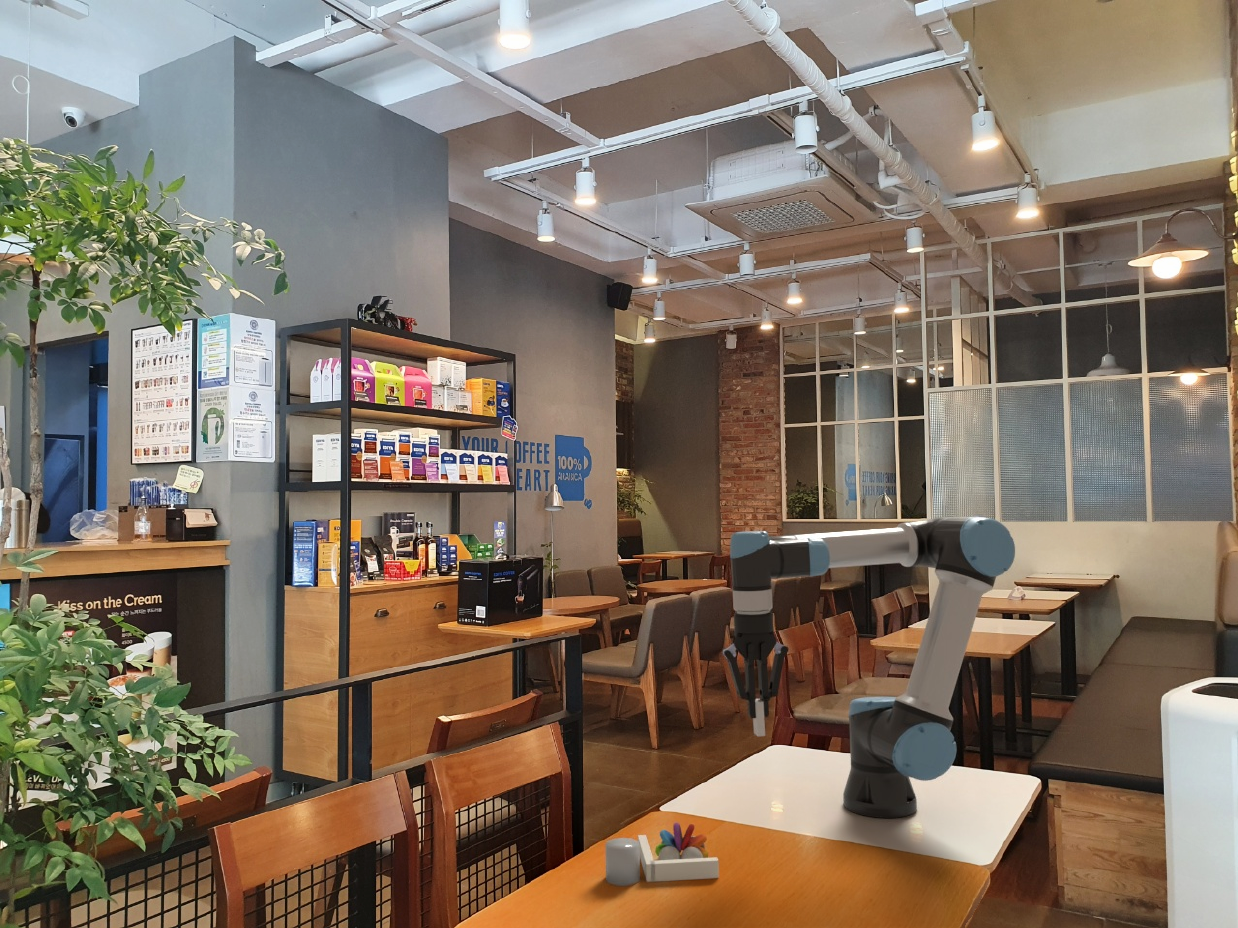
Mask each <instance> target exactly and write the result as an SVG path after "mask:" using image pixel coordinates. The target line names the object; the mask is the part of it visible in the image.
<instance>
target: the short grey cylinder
mask: <svg viewBox="0 0 1238 928" xmlns="http://www.w3.org/2000/svg"><path fill="white" fill-rule="evenodd" d="M604 847H605V850H604V851H605V881H606V882H607V883H608V884H610V885H611V886H612V885H613V886H619V887H627V886H633V885H635V884H637V883H639V882H640V879H641V868H640V867H641V864H640V863H641V859H640V854H639V842H638V840H637V839H634V838H629V837H618V838H613V839H610V840H607V841H606V842H605V845H604Z"/></svg>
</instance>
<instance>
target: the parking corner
mask: <svg viewBox="0 0 1238 928" xmlns="http://www.w3.org/2000/svg"><path fill="white" fill-rule="evenodd" d="M637 841H638V842H639V854H640V863H641V866H642V870H643V873H644V877H645V880H646V882H647V883H650V882H651V883H653V882H667V881H668V882H669V881H687V880H689V881H691V880H705V879H707V880H708V879H709V880H710V879H720V871H719V870H720V868H719V867H720V864H719V863H720V862H719V859H718V857H717V856H715V857H708V858H694V859H675V860H659V859H658V860H654V856H653V854H652V851H651V847H650V844H649V841H648V838H647V835H646V834H639V835H637Z"/></svg>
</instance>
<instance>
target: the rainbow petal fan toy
mask: <svg viewBox="0 0 1238 928" xmlns="http://www.w3.org/2000/svg"><path fill="white" fill-rule="evenodd" d="M694 830H695V825H694V824H693V823H690V824H689V825H687V829H686V830H685V833H684V835H683V833H682V832H683V831H682V828H681V825H680V823H679V822H674V823H673V830H672V831H673V834H672V833H671V832H670V831H668V830H667V829H662V830H661V831H660V832H659V836H660V839H661V843H659V844H657V845H656V847H655V854H656V856H658V860H675V859H694V858H709V852H708V850H707V849H706V846H705V843H706V842H707V840H708V839H707V836H706V835H705V834H698V835H693V833H694ZM692 835H693V836H692Z"/></svg>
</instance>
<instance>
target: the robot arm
mask: <svg viewBox="0 0 1238 928" xmlns="http://www.w3.org/2000/svg"><path fill="white" fill-rule="evenodd" d="M1010 532H1011V531H1009V529H1008V528H1007V527H1006V526H1005V524H1003V523H1002V522H1000V521H998V520H997V519H994V518H990V517H989V518H988V517H983V516H981V515H975V516H952V515H951V516H950V515H949V516H941V517H934V518H929V519H925V520H919V521H918V520H917V521H911V522H901V523H899V524H898V525H897V526H896V527H893V528H892V527H891V528H879V529H878V528H877V529H876V528H875V529H863V530H860V529H859V530H847V531H846V530H845V531H835V532H822V533H821V532H819V533H805V534H792V535H789V534H788V535H777V536H776V535H773V536H772V535H769V533H768V531H765V530H752V531H750V530H747V531H737V532H736V531H735V532H734V533H733V534H731V537H730V544H729V547H730V549H729V550H730V551H729V558H730V566H731V567H730V568H731V570H730V571H731V581H732V583H731V584H732V586H731V587H732V603H733V605H732V606H733V608H732V609H733V610H734V611H735V613H734V614H733V624H734V625H733V628H734V635H733V638H732V644H730V646H728V647H727V648H722V650H721V654H722V656H724V658H725V659H726V660H727V663H728V666H729V667H728V668H729V671H730V673H731V677H732V682H733V684H734V687H735V693H736V695H737V696H738V697H739V698H741V700H745V701H746V703H747V705H746V706H747V715H748V717H749V718H750V719H752V723H753V725H752V726H753V734H754V735H755V736H757V737H765V736H766V725H765V722H766V721H765V718H769V715H770V708H769V701H770V700H771V698H775V697H777V696H778V694H779V688H780V683H781V678H782V673H783V672H782V671H783V666H784V660H785V657H786V656H787V654H788V652H789V647H788V646H786V645H785V644H782V643H780V642H778V641H777V640H778V639H777V637H776V635H775V632H774V631H775V630H774V614H773V612H772V611H771V610H772V609H773V594H772V593H773V590H772V587H773V586H772V580H776V579H789V578H791V579H793V578H807V577H809V578H812V577H817V576H823V575H825V574H826V573H827V572H828V570H829V569H833V568H836V569H837V568H847V567H862V566H873V565H874V566H875V565H887V564H901V566H903V567H906V568H910V567H923V568H924V567H925V568H930V569H934V573H935V575H936V578H937V579H938V586H937V589H936V592H935V596H934V598H933V601H932V604H931V605H932V606H931V608H930V611H929V614H928V618H927V622H926V625H925V628H924V632H923V634H922V637H921V642H920V644H919V648H918V650H917V654H916V657H915V660H914V663H913V667H912V670H911V674H910V676H909V680H908V682H907V687H906V690H905V692H904V693H903V694H900V695H898V696H897V697H896V696H866V697H860V698H859V697H858V698H855V699H852V700H851V701H850V703H849V709H848V710H849V711H848V718H849V719H848V721H849V722H848V723H849V726H848V727H849V747H850V748H849V750H850V752H849V753H850V755H849V756H850V770H849V774H848V777H847V779H846V784H845V786H844V789H843V796H842V797H843V799H842V800H843V807H844V808H845V809H847V810H848V811H850V812H853V813H854V814H857V815H862V816H865V817H866V816H867V817H873V818H883V819H885V818H886V819H889V818H890V819H893V818H894V819H896V818H903V817H907V816H911V815H913V814H915V813H916V811H917V809H918V807H917V806H918V805H917V800H918V799H917V796H916V794H915V793H916V792H915V791H914V787H913V785H912V781H911V778H912V779H915V780H917V781H923V782H924V781H925V782H927V781H933V780H936V779H937V778H939V777H942V776H943V775H944V774H946V773H947V772H948V771H949V769H950V768H951V767H952V765H953V763H954V761H955V759H956V755H957V743H956V741H955V736H954V735H953V733H952V732H951V729H952V726H953V722H954V717H953V716H952V714H951V712H950V710H949V707H950V704H951V700H952V697H953V694H954V691H955V687H956V684H957V681H958V677H959V673H960V670H961V667H962V664H963V661H964V658H965V653H966V651H967V648H968V644H969V640H970V637H971V633H972V630H973V628H974V623H975V620H976V617H977V614H978V611H979V607H980V604H981V601H982V597H983V595H984V594H985V595H986V594H987V593H988V592H990V591H992V590H993V588H994V586H995V583H996V579H997V577H999V576H1001V575H1003V574H1004V573H1005V572H1008V571H1009V570H1010V568H1011V566H1012V565H1013V563H1014V561H1015V557H1016V545H1015V541H1014V538H1013V537H1012V536H1011V533H1010ZM736 651H737V652H738V653H739V655H740V656H741V657H742V658H743V664H744V677H745V679H744V680H745V686H744V682H743V679H742V676H741V672H740V669H739V665H738V662H737V660H736V656H737V652H736ZM772 651H773V652H774V656H773V662H772V666H771V667H772V668H771V671H770V672H771V673H770V678H769V677H768V676H769V675H768V674H769V673H768V665H769V664H768V663H769V661H768V659H769V658H768V657H769V656H770V654H771V652H772ZM755 662H756V663H757V676H758V677H757V679H758V695H759V698H757V696H756V695H757V693H756V675H755Z"/></svg>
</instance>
